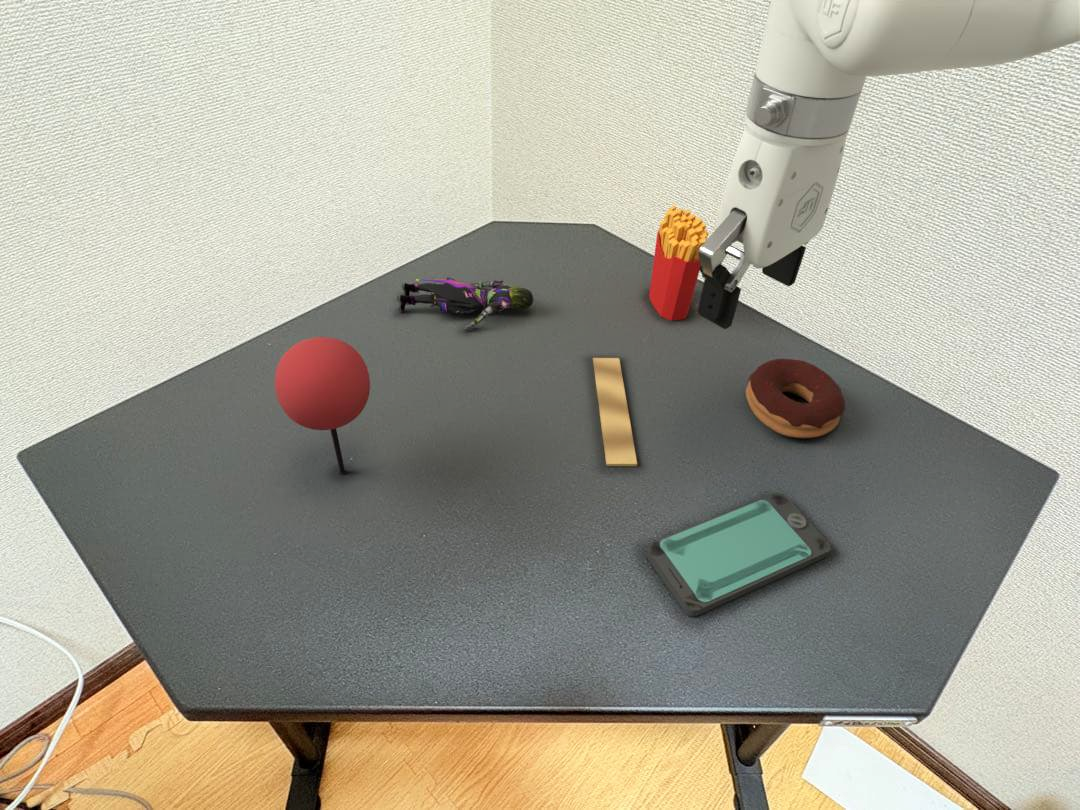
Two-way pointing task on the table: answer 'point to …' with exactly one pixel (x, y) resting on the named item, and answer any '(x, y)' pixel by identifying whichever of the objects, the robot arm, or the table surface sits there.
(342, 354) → the lollipop
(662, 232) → the french fries
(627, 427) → the strip
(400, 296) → the character figure
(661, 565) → the smartphone
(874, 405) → the table surface
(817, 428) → the donut
